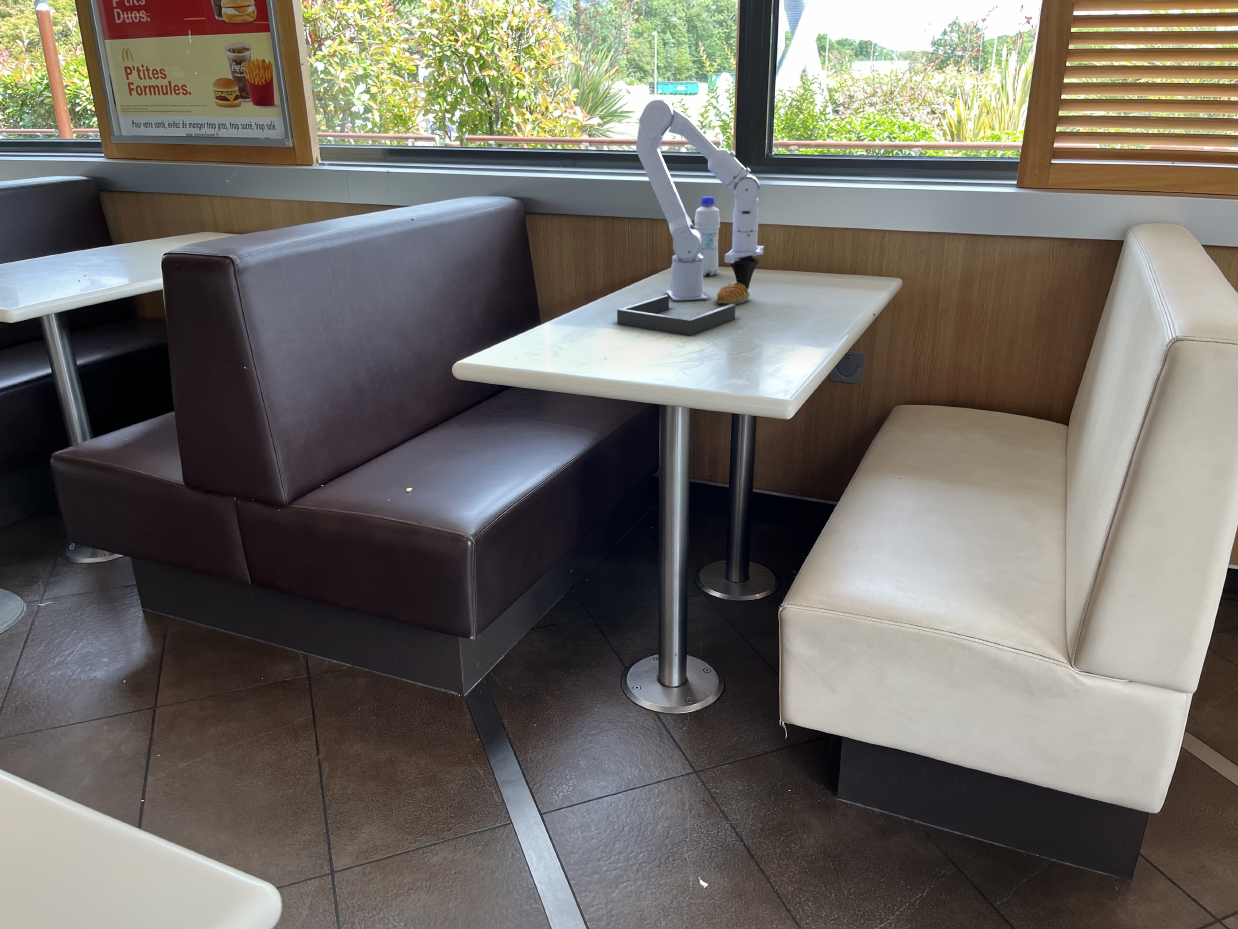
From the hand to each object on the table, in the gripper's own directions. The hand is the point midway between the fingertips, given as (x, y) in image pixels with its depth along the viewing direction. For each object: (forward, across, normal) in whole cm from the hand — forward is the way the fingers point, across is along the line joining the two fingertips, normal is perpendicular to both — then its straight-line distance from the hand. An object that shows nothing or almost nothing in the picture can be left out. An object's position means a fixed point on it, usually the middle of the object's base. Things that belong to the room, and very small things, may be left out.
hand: (743, 289), depth 208 cm
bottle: (+2, +21, +23) cm, 32 cm away
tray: (+2, -28, 0) cm, 28 cm away
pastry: (+2, -5, 0) cm, 5 cm away
